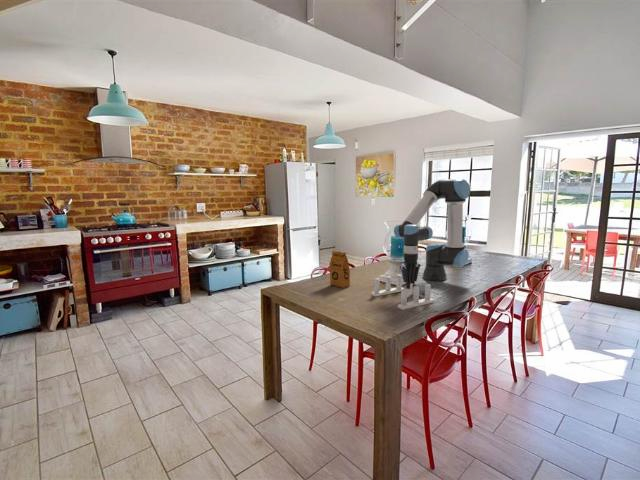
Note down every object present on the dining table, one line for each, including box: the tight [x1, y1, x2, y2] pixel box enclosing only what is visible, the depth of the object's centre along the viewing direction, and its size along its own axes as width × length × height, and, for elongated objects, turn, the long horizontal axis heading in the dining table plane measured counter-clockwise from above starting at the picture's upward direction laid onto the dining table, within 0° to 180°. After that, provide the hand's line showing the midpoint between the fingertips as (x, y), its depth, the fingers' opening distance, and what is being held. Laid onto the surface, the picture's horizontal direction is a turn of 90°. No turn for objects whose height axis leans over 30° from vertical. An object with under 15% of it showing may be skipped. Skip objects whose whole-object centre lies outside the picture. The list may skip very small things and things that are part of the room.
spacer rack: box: [371, 274, 435, 310], centre depth 179 cm, size 21×27×10 cm
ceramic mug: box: [413, 280, 429, 299], centre depth 183 cm, size 11×8×8 cm
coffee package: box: [329, 250, 351, 289], centre depth 205 cm, size 10×12×22 cm
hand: (409, 294), depth 183 cm, fingers closed
